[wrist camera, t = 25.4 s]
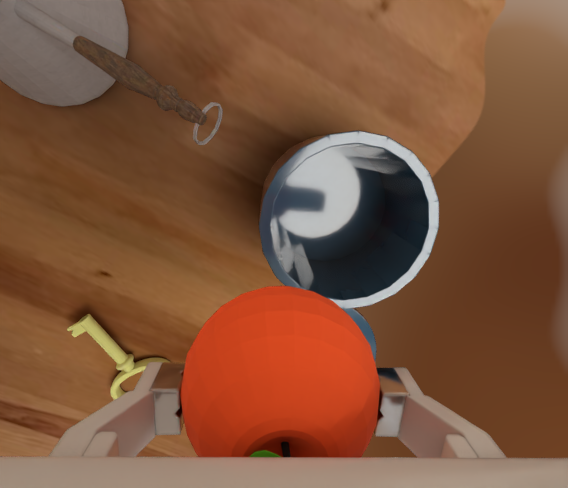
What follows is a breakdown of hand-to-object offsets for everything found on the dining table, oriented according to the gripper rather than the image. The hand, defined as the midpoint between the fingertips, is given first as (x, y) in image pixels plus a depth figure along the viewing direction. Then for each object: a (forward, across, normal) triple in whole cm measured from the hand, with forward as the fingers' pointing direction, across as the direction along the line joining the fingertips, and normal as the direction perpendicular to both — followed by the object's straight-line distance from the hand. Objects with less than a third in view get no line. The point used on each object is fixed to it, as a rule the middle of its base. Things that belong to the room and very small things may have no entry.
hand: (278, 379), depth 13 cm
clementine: (+3, 0, 0) cm, 3 cm away
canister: (+21, -5, -4) cm, 22 cm away
